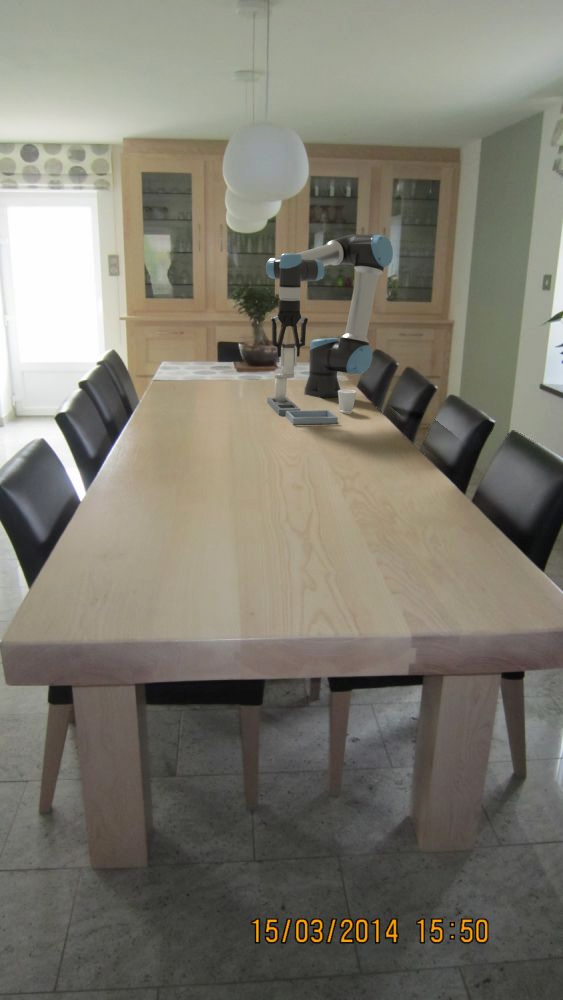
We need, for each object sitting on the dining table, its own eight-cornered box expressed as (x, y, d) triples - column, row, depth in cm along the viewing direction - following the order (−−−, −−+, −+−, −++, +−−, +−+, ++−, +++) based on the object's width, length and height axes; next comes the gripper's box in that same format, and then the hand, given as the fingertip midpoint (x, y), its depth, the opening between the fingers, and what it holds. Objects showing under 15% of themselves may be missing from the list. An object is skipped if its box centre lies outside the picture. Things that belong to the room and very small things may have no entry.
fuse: (284, 404, 290) (285, 373, 286) (287, 406, 286) (288, 375, 282) (273, 404, 289) (273, 373, 285) (275, 406, 285) (276, 375, 281)
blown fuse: (292, 375, 276) (293, 342, 272) (295, 378, 272) (296, 344, 268) (280, 375, 275) (280, 342, 271) (282, 378, 271) (283, 344, 267)
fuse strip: (287, 403, 294) (287, 397, 293) (300, 416, 273) (300, 409, 272) (267, 404, 292) (267, 397, 291) (278, 416, 272) (279, 409, 271)
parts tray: (328, 416, 274) (328, 409, 273) (337, 424, 262) (337, 417, 262) (285, 417, 270) (285, 410, 269) (293, 425, 259) (293, 418, 258)
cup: (338, 414, 278) (339, 392, 275) (333, 408, 287) (334, 387, 284) (357, 414, 278) (358, 393, 276) (351, 408, 288) (353, 387, 285)
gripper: (310, 298, 269) (308, 363, 277) (263, 298, 266) (262, 364, 273) (316, 300, 262) (313, 367, 270) (267, 300, 259) (266, 367, 267)
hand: (287, 365), depth 272 cm, fingers closed on blown fuse, 4 cm apart
